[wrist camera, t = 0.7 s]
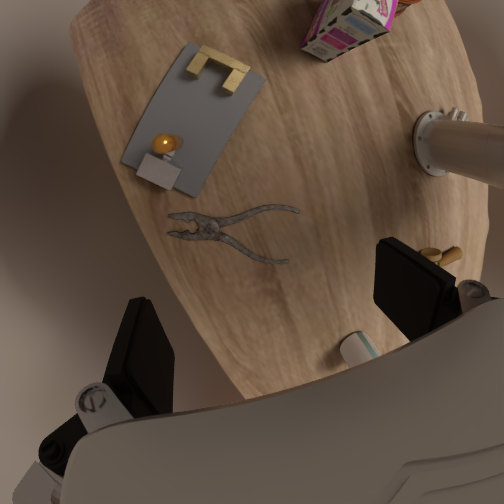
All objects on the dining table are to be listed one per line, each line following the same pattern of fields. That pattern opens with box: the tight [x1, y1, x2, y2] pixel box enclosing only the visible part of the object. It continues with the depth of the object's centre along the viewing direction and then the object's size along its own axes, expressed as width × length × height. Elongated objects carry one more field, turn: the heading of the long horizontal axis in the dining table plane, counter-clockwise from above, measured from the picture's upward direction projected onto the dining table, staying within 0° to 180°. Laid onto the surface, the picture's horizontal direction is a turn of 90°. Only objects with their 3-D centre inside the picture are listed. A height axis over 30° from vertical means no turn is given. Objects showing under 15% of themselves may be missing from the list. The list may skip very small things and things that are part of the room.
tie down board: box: [121, 42, 266, 198], centre depth 32 cm, size 19×12×2 cm, turn 149°
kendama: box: [420, 247, 462, 267], centre depth 46 cm, size 8×6×18 cm
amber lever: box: [152, 134, 183, 163], centre depth 28 cm, size 7×2×10 cm, turn 149°
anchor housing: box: [136, 152, 184, 191], centre depth 32 cm, size 3×5×3 cm, turn 59°
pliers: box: [167, 205, 300, 264], centre depth 41 cm, size 10×1×20 cm
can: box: [340, 332, 381, 368], centre depth 48 cm, size 7×7×12 cm
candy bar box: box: [300, 0, 398, 62], centre depth 22 cm, size 11×5×16 cm, turn 159°
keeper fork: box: [186, 45, 250, 96], centre depth 28 cm, size 4×7×3 cm, turn 59°
